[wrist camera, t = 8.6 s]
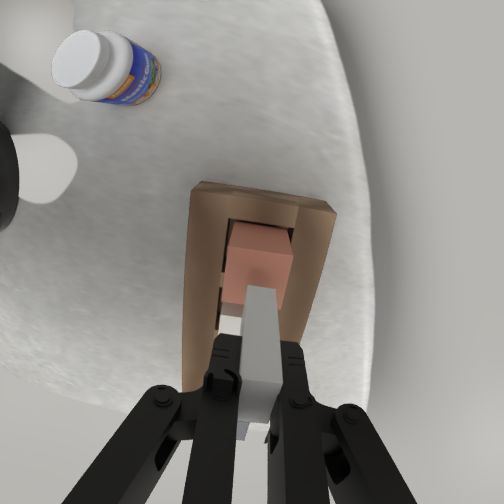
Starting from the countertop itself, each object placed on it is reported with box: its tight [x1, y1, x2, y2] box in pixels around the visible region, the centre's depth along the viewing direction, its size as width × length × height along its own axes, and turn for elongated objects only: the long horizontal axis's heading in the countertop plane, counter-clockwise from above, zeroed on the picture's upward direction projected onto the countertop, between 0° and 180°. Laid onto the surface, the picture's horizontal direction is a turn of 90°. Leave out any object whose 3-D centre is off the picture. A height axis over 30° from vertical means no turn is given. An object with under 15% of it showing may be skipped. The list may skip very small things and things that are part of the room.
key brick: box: [221, 221, 294, 310], centre depth 21 cm, size 4×4×5 cm
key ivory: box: [218, 302, 244, 336], centre depth 24 cm, size 4×4×5 cm
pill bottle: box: [51, 30, 161, 106], centre depth 16 cm, size 5×5×10 cm
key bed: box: [182, 181, 337, 392], centre depth 28 cm, size 11×26×4 cm, turn 171°
